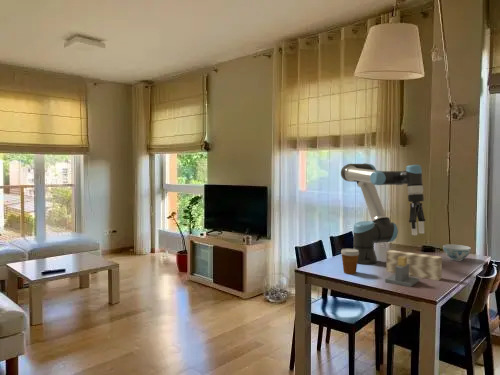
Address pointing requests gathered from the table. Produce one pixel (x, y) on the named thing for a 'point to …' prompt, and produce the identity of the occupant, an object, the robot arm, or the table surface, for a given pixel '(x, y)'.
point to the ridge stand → (402, 274)
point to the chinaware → (456, 251)
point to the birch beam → (416, 264)
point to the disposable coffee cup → (349, 260)
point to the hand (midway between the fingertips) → (418, 234)
